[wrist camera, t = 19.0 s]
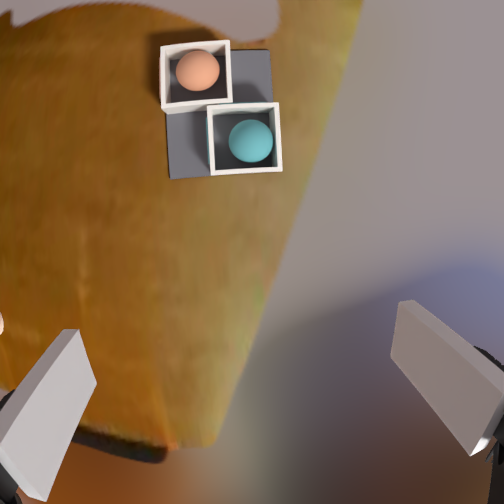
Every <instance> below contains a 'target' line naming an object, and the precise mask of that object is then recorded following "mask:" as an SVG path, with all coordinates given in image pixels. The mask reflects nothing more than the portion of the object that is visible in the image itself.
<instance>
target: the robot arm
mask: <svg viewBox="0 0 504 504" xmlns="http://www.w3.org/2000/svg"><path fill="white" fill-rule="evenodd" d="M390 357H391V358H392V360H393V361H394V362H395V363H396V364H397V366H398V367H399V368H400V369H401V370H402V372H403V373H404V374H405V375H406V377H407V378H408V379H409V380H410V381H411V383H412V384H413V385H414V386H415V387H416V389H417V390H418V391H419V392H420V394H421V395H422V396H423V397H424V399H425V400H426V401H427V402H428V403H429V405H430V406H431V407H432V408H433V410H434V411H435V412H436V413H437V415H438V416H439V417H440V418H441V419H442V421H443V422H444V423H445V425H446V426H447V427H448V429H449V430H450V431H451V432H452V434H453V435H454V436H455V438H456V439H457V440H458V441H459V443H460V444H461V445H462V446H463V448H464V449H465V450H466V451H467V453H468V454H469V456H471V455H473V454H475V453H477V452H478V451H480V450H482V449H484V448H485V447H486V446H487V444H488V442H489V441H490V439H491V438H492V436H495V438H496V439H497V441H496V443H495V445H494V446H493V448H492V449H491V451H490V453H489V454H488V456H487V458H486V460H485V462H488V461H489V459H490V458H491V456H492V455H493V460H492V463H493V464H492V474H491V483H490V490H489V497H488V503H487V504H504V365H501V363H500V362H499V361H497V360H495V358H494V357H493V356H491V355H490V354H489V353H488V352H487V351H485V350H483V349H480V348H478V347H476V346H472V345H470V344H469V343H468V342H467V341H465V340H464V339H463V338H462V337H461V336H459V335H458V334H457V333H456V332H454V331H453V330H452V329H451V328H449V327H448V326H447V325H445V324H444V323H443V322H442V321H440V320H439V319H438V318H437V317H435V316H434V315H433V314H431V313H430V312H429V311H427V310H426V309H425V308H423V307H422V306H421V305H420V304H418V303H417V302H416V301H414V300H409V301H402V302H399V303H398V311H397V318H396V325H395V332H394V337H393V344H392V349H391V355H390ZM96 384H97V383H96V380H95V377H94V375H93V372H92V369H91V366H90V363H89V360H88V358H87V355H86V352H85V348H84V345H83V342H82V339H81V336H80V332H79V330H76V329H63V331H62V332H61V333H60V334H59V335H58V337H57V338H56V339H55V340H54V341H53V343H52V344H51V345H50V346H49V348H48V349H47V350H46V351H45V352H44V354H43V355H42V356H41V357H40V359H39V360H38V361H37V363H36V364H35V365H34V366H33V368H32V369H31V370H30V372H29V373H28V374H27V375H26V377H25V378H24V379H23V381H22V382H21V383H20V385H19V386H18V387H17V389H16V390H15V389H14V390H12V391H11V392H10V393H8V394H7V395H6V396H4V397H3V399H2V400H1V401H0V504H22V501H21V499H20V497H19V496H18V494H17V493H16V490H17V488H18V486H19V487H20V488H21V489H22V490H23V491H24V492H25V493H26V494H27V496H29V497H32V498H35V499H38V500H42V501H45V502H46V501H47V498H48V496H49V493H50V490H51V487H52V485H53V482H54V479H55V477H56V475H57V472H58V469H59V467H60V465H61V462H62V460H63V457H64V455H65V453H66V450H67V448H68V445H69V443H70V441H71V438H72V436H73V434H74V432H75V429H76V427H77V425H78V423H79V420H80V418H81V416H82V414H83V412H84V409H85V407H86V405H87V403H88V401H89V399H90V397H91V395H92V392H93V390H94V388H95V386H96Z"/></svg>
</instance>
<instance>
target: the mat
mask: <svg viewBox="0 0 504 504" xmlns="http://www.w3.org/2000/svg"><path fill="white" fill-rule="evenodd" d="M214 57H215V58H216V60H217V62H218V64H219V69H220V70H219V76H218V79H217V80H216V82H215V83H214V84H213V85H212V86H211V87H209V88H207V89H205V90H202V91H191V90H188V89H186V88H184V87H183V86H182V85H181V84H180V83H179V81H178V79H177V76H176V67H177V64H178V62H179V61H180V59H176V60H170V92H171V103H177V102H186V101H196V100H208V99H222V98H227V93H226V73H225V55H222V56H214ZM230 58H231V78H232V97H233V103H237V102H266V103H273V92H272V78H271V64H270V51H269V50H245V51H230ZM166 117H167V138H168V156H169V170H170V179H179V178H190V177H201V176H213V175H211V170H210V164H208V150H207V133H206V117H207V110H206V111H195V112H185V113H175V114H166ZM244 120H257V121H260V122H262V123H264V124H265V125H266V126H267V127H268V128H269V129H270V122H269V113H248V114H228V115H213V132H214V150H215V166H216V170H228V169H243V168H262V167H272V158H271V152H270V153H269V154H268V156H267V157H266V158H264V159H263V160H261V161H258V162H254V163H248V162H244V161H241V160H239V159H238V158H236V157H235V156H234V155H233V153H232V152H231V150H230V147H229V136H230V133H231V131H232V129H233V128H234V127H235V126H236V125H237V124H238V123H240V122H242V121H244ZM256 173H260V172H256ZM239 174H242V173H239ZM224 175H227V174H224Z"/></svg>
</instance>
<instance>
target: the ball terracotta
mask: <svg viewBox="0 0 504 504" xmlns="http://www.w3.org/2000/svg"><path fill="white" fill-rule="evenodd" d="M219 70H220V69H219V64H218V62H217V60H216V58H215V57H214V56H213V55H211V54H210V53H208V52H205V51H193V52H190V53H188V54H186V55H185V56H183V57H182V58H181V59H180V61H179V62H178V64H177V67H176V76H177V79H178V81H179V83H180V84H181V85H182V86H183V87H184V88H186V89H188V90H191V91H202V90H205V89H207V88H209V87H211V86H212V85H213V84H214V83H215V82H216V80H217V79H218V76H219Z"/></svg>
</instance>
